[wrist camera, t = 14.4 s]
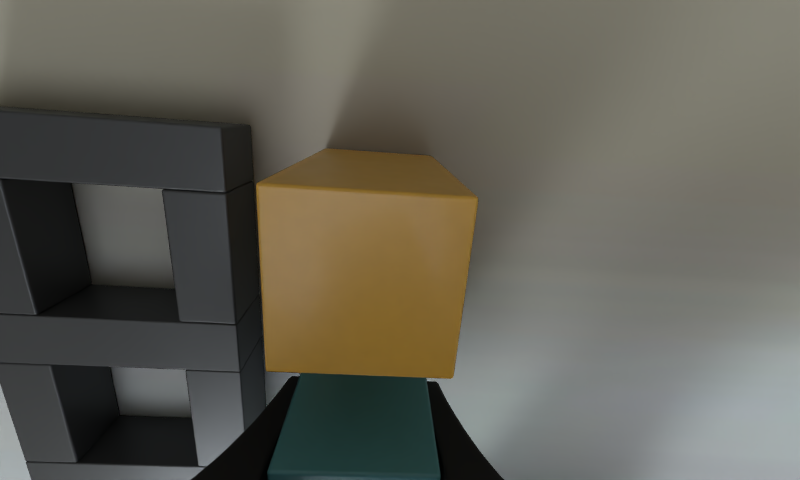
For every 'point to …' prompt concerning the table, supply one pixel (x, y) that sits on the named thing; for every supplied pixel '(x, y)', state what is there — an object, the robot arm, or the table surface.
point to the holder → (126, 294)
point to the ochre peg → (364, 264)
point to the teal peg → (357, 430)
